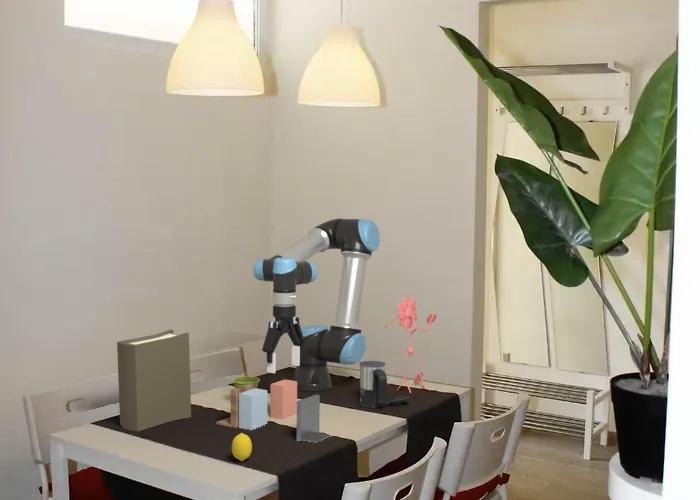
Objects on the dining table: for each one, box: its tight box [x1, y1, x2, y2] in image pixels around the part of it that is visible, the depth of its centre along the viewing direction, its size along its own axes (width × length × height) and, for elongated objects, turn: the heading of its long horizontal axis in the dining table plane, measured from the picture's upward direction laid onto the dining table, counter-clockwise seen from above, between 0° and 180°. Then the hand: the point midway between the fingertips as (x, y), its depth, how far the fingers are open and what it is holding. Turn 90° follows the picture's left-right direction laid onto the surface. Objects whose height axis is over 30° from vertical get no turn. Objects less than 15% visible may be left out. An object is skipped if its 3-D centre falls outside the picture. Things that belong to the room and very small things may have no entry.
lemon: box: [231, 432, 253, 462], centre depth 227 cm, size 6×6×8 cm
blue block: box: [238, 387, 268, 431], centre depth 260 cm, size 8×5×11 cm, turn 149°
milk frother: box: [358, 360, 409, 409], centre depth 286 cm, size 14×16×15 cm
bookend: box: [296, 394, 332, 444], centre depth 247 cm, size 10×6×12 cm, turn 149°
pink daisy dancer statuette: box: [384, 296, 438, 394], centre depth 309 cm, size 15×26×35 cm, turn 139°
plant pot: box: [232, 376, 261, 389], centre depth 285 cm, size 9×9×9 cm
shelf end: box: [215, 383, 256, 429], centre depth 263 cm, size 10×8×12 cm
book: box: [116, 329, 192, 432], centre depth 262 cm, size 22×9×28 cm, turn 140°
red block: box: [269, 379, 298, 420], centre depth 272 cm, size 8×5×11 cm, turn 149°
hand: (283, 368), depth 271 cm, fingers open, 13 cm apart
